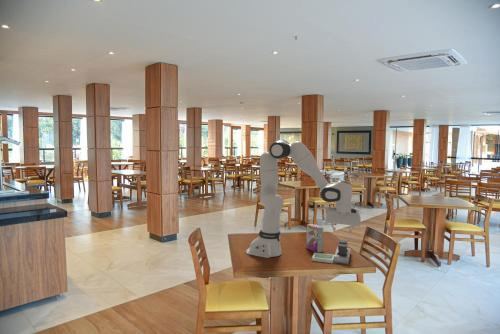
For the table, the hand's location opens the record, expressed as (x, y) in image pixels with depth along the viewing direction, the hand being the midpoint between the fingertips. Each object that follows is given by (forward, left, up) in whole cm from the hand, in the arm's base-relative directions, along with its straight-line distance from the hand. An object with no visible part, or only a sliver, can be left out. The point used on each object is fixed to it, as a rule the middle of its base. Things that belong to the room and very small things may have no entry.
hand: (342, 231), depth 203 cm
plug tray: (-10, -3, -18) cm, 21 cm away
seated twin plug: (0, +8, -16) cm, 18 cm away
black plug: (+1, 0, -16) cm, 16 cm away
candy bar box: (-18, +14, -18) cm, 29 cm away
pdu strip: (0, +4, -18) cm, 18 cm away
